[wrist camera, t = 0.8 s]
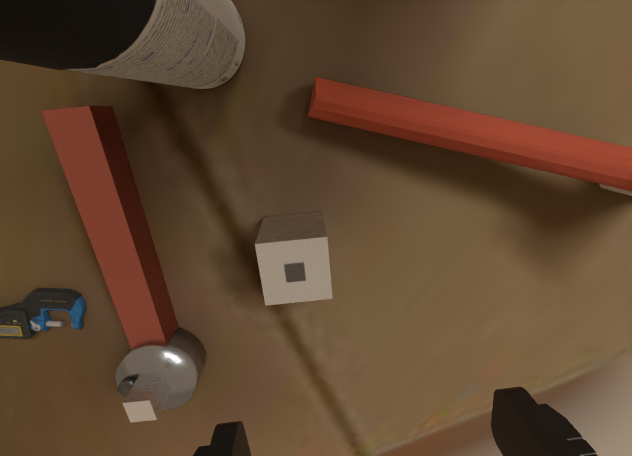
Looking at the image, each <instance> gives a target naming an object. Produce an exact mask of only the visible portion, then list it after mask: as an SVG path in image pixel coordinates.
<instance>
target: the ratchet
mask: <svg viewBox="0 0 632 456" xmlns="http://www.w3.org/2000/svg"><path fill="white" fill-rule="evenodd" d="M41 112H42V114H43V117H44V120H45V122H46V125H47V128H48V130H49V133H50V136H51V138H52V141H53V143H54V146H55V149H56V151H57V154H58V157H59V159H60V162H61V165H62V167H63V170H64V173H65V175H66V178H67V181H68V183H69V186H70V189H71V191H72V194H73V196H74V199H75V202H76V204H77V207H78V210H79V212H80V215H81V218H82V220H83V223H84V226H85V228H86V231H87V234H88V236H89V239H90V242H91V244H92V247H93V249H94V252H95V255H96V257H97V260H98V263H99V265H100V268H101V271H102V273H103V276H104V279H105V281H106V284H107V287H108V289H109V292H110V295H111V297H112V300H113V303H114V305H115V308H116V310H117V313H118V316H119V318H120V321H121V324H122V326H123V329H124V332H125V334H126V337H127V340H128V342H129V345H130V348H131V349H130V350H129V352H128V353H127V354H126V356H125V357H124V359H123V360H122V361H121V363H120V364H119V366H118V368H117V370H116V375H115V379H116V384H117V386H118V392H119V393H120V394H121V395H122V396H125V397H126V398H125V400H124V401H123V406H124V408H125V410H126V413H127V415H128V418H129V420H130V422H140V421H150V420H157V419H158V417H159V414H160V412H161V410H169V409H173V408H177V407H179V406H181V405H183V404H184V403H186V402H187V401H188V400H189V399H190V398H191V397H192V395H193V393H194V390H195V388H196V385H197V383H198V380H199V377H200V375H201V372H202V369H203V367H204V364H205V361H206V353H205V349H204V347H203V345H202V343H201V342H200V340H199V339H198V338H197V337H196V336H194V335H193V334H192V333H190V332H188V331H186V330H184V329H182V328H179V327H178V323H177V320H176V317H175V313H174V310H173V307H172V303H171V300H170V297H169V293H168V290H167V287H166V283H165V280H164V277H163V273H162V270H161V267H160V263H159V260H158V257H157V253H156V250H155V247H154V243H153V240H152V237H151V233H150V230H149V227H148V224H147V220H146V217H145V214H144V210H143V207H142V204H141V200H140V197H139V194H138V190H137V187H136V184H135V180H134V177H133V174H132V170H131V167H130V164H129V160H128V157H127V154H126V150H125V147H124V144H123V140H122V137H121V134H120V130H119V127H118V124H117V120H116V117H115V114H114V110H113V107H112V106H84V107H74V108H64V109H53V110H43V111H41Z"/></svg>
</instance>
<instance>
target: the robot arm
mask: <svg viewBox="0 0 632 456" xmlns="http://www.w3.org/2000/svg"><path fill="white" fill-rule="evenodd" d="M491 428H492V433H493V436H494V439H495V442H496V444H497V446H498V448H499V449H500V451H501V453H502V455H503V456H597V455H596V452H595V451H594V449H593V448H592V447H591V446H590V445H589V444H588V443H587V442H586V440H583V438H582V436H581V435H580V433H578V431H577V430H576V429H575V428H574V427H573V425H572V424H570V422H569V421H568V420H567V419H566V418H565V417H564V416H562V415H561V414H560V413H558V412H557V411H555V410H554V409H553V408H551V407H550V406H548V405H547V404H540V405H538V404H537V403H536V402H535V400H534V399H533V398H532V397H531V396H530V394H529V393H528V392H527V391H526V390H525V389H524V388H522V387H513V388H505V389H498V390H495V392H494V399H493V409H492V419H491ZM193 456H251V453H250V449H249V445H248V441H247V437H246V434H245V430H244V426H243V423H242V421H237V422H229V423H221V424H217V425H216V427H215V430H214V433H213V437H212V440H211V444H210V445H208V446H201V447H198V449H197V450H196V452H195V453H194V455H193Z"/></svg>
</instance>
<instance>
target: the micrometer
mask: <svg viewBox="0 0 632 456" xmlns="http://www.w3.org/2000/svg"><path fill="white" fill-rule="evenodd" d="M80 296H81V294H80V293H78V292H76V291H74V290H71V289H52V288H38V289H35V290H34V291H33V292H31V293H30V294H29V295H28V296H27V297H26V298H25V299H24V300H23V301H22V302H21V303H16V304H13V305H10V306H7V307H2V308H0V338H12V339H30V338H31V337H32V336H33V335H35V334H36V333H37V332H38V331H39V330H43V331H46V330H48V329H49V328H50V327H51V326H55V327H64V326H65V321H51V318H50V317H49V316H48V313H47V310H63V311H67V312H68V313H69V314H70V316H71V319H72V323H71V324H70V326H71V327H73V328H74V329H81V328H82V327H83V320H82V319H83V316H84V313H85V309H86V304H85V301H84V300H83V298H82V297H80Z"/></svg>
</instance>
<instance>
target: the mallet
mask: <svg viewBox="0 0 632 456" xmlns="http://www.w3.org/2000/svg"><path fill="white" fill-rule="evenodd" d="M308 117H310V118H315V119H319V120H323V121H328V122H332V123H337V124H341V125H345V126H350V127H354V128H358V129H363V130H367V131H371V132H376V133H380V134H385V135H389V136H393V137H398V138H402V139H406V140H411V141H415V142H419V143H424V144H428V145H433V146H437V147H441V148H446V149H450V150H454V151H459V152H463V153H468V154H472V155H476V156H481V157H485V158H489V159H494V160H498V161H502V162H507V163H511V164H516V165H520V166H524V167H529V168H533V169H537V170H542V171H546V172H550V173H555V174H559V175H564V176H568V177H572V178H577V179H581V180H585V181H590V182H594V183H598V184H599V185H600V187H601V188H604V189H608V190H611V191H615V192H618V193H622V194H626V195H629V196H632V147H626V146H621V145H617V144H612V143H608V142H604V141H599V140H595V139H590V138H586V137H581V136H577V135H572V134H568V133H564V132H559V131H555V130H550V129H546V128H541V127H537V126H532V125H528V124H523V123H519V122H515V121H510V120H506V119H501V118H497V117H492V116H488V115H483V114H479V113H475V112H470V111H466V110H461V109H457V108H452V107H448V106H443V105H439V104H434V103H430V102H426V101H421V100H417V99H412V98H408V97H403V96H399V95H394V94H390V93H386V92H381V91H377V90H372V89H368V88H363V87H359V86H354V85H350V84H345V83H341V82H337V81H332V80H328V79H323V78H319V77H315V81H314V86H313V91H312V96H311V101H310V106H309V112H308Z"/></svg>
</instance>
